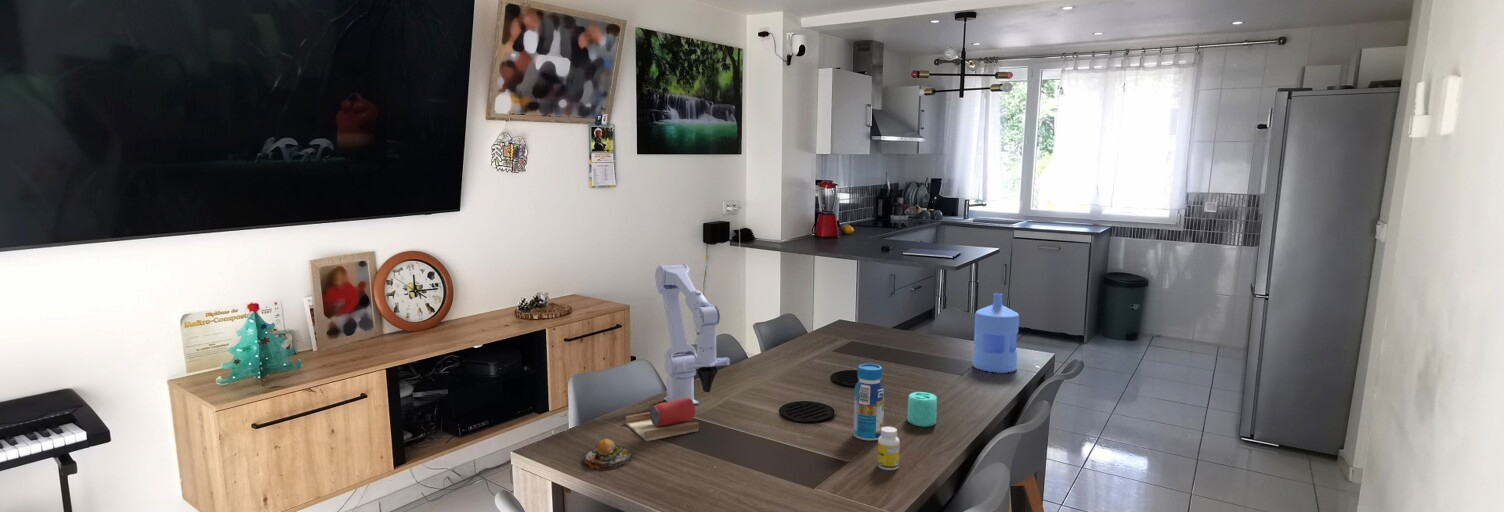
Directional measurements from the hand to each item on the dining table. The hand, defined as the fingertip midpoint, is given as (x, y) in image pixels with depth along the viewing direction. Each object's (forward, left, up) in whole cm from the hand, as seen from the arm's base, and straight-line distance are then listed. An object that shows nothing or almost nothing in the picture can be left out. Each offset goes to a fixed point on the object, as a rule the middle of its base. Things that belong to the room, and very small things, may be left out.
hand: (706, 391), depth 223 cm
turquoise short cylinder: (+34, +54, -9) cm, 64 cm away
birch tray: (0, -15, -8) cm, 17 cm away
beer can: (0, -5, -4) cm, 7 cm away
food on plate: (+15, -36, -9) cm, 40 cm away
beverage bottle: (+35, +33, -9) cm, 49 cm away
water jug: (+4, +118, -9) cm, 118 cm away
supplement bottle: (+54, +24, -9) cm, 60 cm away
